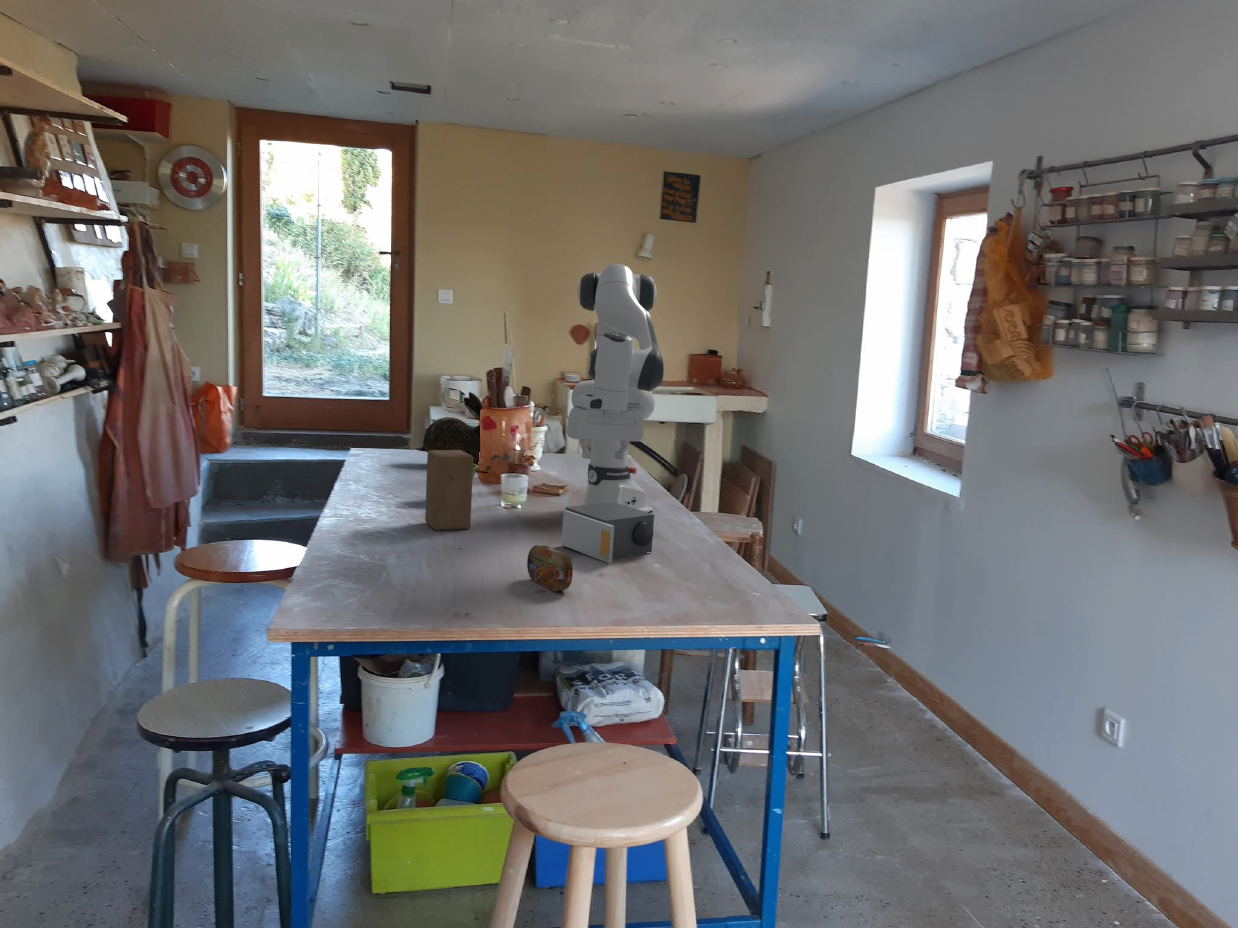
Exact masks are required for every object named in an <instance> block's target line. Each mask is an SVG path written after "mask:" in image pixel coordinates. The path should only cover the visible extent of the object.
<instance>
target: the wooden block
mask: <svg viewBox="0 0 1238 928" xmlns="http://www.w3.org/2000/svg"><path fill="white" fill-rule="evenodd" d="M426 456H427V457H426V460H427V461H426V482H425V483H426V485H425V486H426V487H425V488H426V489H425V511H424V513H425V516H424V521H425V523H426V524H427V525H429V526H430V527H431V528H432V529H433V530H435V531H436V532H437V531H453V530H455V531H456V530H457V531H458V530H468V529H470V528H471V521H472V520H471V519H472V497H473V482H472V477H473V457H472V456H471V455H469V454H467V453H465V452H464V451H461V450H431V451H429V452H428V453H427V454H426ZM473 478H474V477H473Z"/></svg>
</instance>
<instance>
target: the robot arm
mask: <svg viewBox="0 0 1238 928" xmlns="http://www.w3.org/2000/svg"><path fill="white" fill-rule="evenodd" d="M576 291H577V293H576V294H577V298H578V301H579V305H580V306H581V307H582V309H583V310H587V311H590V312H595V313H596V316H597V318H598V319H597V323H596V324H597V326H596V342H595V345H596V347H595V349H593V350H592V351H591V352H590V354H589V356H590V361H589V369H588V372H587V374H588V375H589V377H590V378H591V379H590V380H583V381H579V382H578V383H577V384H576V385H574V387H573V389H572V392H571V397H570V398H571V405H572V408H571V409H570V411H569V414H568V418H567V422H566V423H567V424H566V434H567V436H568V438H570V439H573V440H578V441H579V442H578V443H579V447H580V448H581V450H582V451H581V452H582V453H581V458H583V459H585V460H586V459H589V463H588V467H587V480H588V481H587V486H586V491H585V496H584V499H583V500H584V501H583V503H582V505H590V504H599V503H608V502H615V503H618V504H622V505H625V506H628V507H631V508H635V509H638V510H641V511H644V512H649V513H651V512H650V511H653V512H654V507H652V506H650V505H649V504H647V499H646V498H647V496H646V492H645V489H643V488H642V487H641V486H639V484H638V483H637V482H635V480H633V479H632V478H631V477H632V476H631V474H633V475H636V474H637V472H638V469H637V467H633V466H630V467H629V466H628V455H629V454H628V453H629V452H628V451H629V447H630V442H640V441H642V440H643V438H644V428H645V427H644V426H645V425H644V422H645V421H646V420H647V419H648V418H650V417H651V415H652V414H653V412H654V411H655V405H656V401H655V400H656V399H655V395H654V394H653V390H655V389H656V388H658V387H659V386H661V385H662V383H663V380H664V376H665V362H664V358H663V355H662V353H661V351H660V348H659V344H658V340H657V337H656V331H655V327H654V324H653V320H652V317H651V314H650V312H649V311H650V310H652V309H653V307H654V305H655V303H656V300H657V297H658V291H657V286H656V283H655V280H654V278H653V277H652V276H650V275H646V274H642V273H640V274H637V273H636V274H635V273H634V272H633V271H632V270H631V269H630V268H629V266H626V265H625V264H622V263H614V264H610V265H608V266H606V267H605V268H604V269H603V270H602V271H601V273H596V272H589V273H585V274H584V275H583V276H582V277H580V281H579V283H578V285H577V290H576ZM635 339H636V340H637V342H638V345H639V349H637V348H635ZM589 444H590V450H589V446H588V445H589Z"/></svg>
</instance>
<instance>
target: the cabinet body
mask: <svg viewBox="0 0 1238 928" xmlns="http://www.w3.org/2000/svg"><path fill="white" fill-rule="evenodd" d="M564 510H568V511H571V512H574V513H577V514H580V515H583V516H586V517H589V518H592V519H595V520H598V521H601V522H604V523H607V524H610V525H613V526H614V539H613V554H612V560H615V558H617V559H622V558H621V557H623V558H628V557H627V556H629V557H632V556H631V555H635V556H638V555H637V554H641V555H644V554H643V553H647V552H651V553H652V549H653V539H654V538H653V537H654V525H655V521H654V520H655V514H654V513H652V512H649V513H648V512H644V511H641V510H638V509H635V508H631V507H628V506H625V505H622V504H618V503H615V502H608V503H599V504H590V505H583V504H582V505H574V506H566V507H565V508H564ZM647 554H648V553H647Z"/></svg>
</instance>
